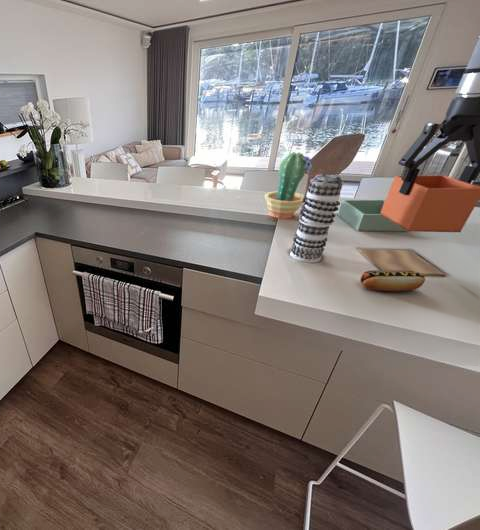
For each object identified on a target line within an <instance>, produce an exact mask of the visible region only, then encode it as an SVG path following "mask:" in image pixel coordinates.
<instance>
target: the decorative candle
mask: <svg viewBox="0 0 480 530" xmlns="http://www.w3.org/2000/svg"><path fill="white" fill-rule="evenodd" d="M309 182H310V183H309V187H308V190H307V192H306V194H303V195H304V198H303V200H302V202H304V203H303V204H302V205H301V206H300V211H299V214H301V215H299V218H298V221H299V225H298V228H297V231H296V232H295V234H294V237H293V242H292V244H291V248H290V253H289V255H290V257H291V258H293V259H294V260H296V261H298V262H299V261H300V262H304V263H312V264H313V263H318V262H320V261H321V260H322V257H323V254H324V252H325V247H326V245H327V242H328V233H329V229H330V227H331V226H332V225H333V223H334V222H335V219H334V218H335V217H336V214H335V213H334V212H338V211H339V207H338V206H341V201H339V200H340V197H341V191H342V189H343V185H345V184H346V183H345V181H343V180H342V177H341V176H339V175H337V174H331V173H322V174H317V175H316V176H314V177H313V178H312V179H310V180H309ZM305 199H306V200H305Z"/></svg>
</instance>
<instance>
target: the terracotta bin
mask: <svg viewBox="0 0 480 530" xmlns="http://www.w3.org/2000/svg"><path fill="white" fill-rule="evenodd" d="M402 176H403V175H395V176H394V178H393V181H392V182H391V185H390V188H389V189H388V193H387V196H386V198H385V199H384V200H385V202H384V205H383V207H382V210H381V212H380V214H381V215H383V216H384V217H386V218H387V219H389V220H391V221H392V222H394V223H395V224H397V225H399V226H400V227H402V228H403V229H405V231H407V232H416V233H417V232H419V233H420V232H421V233H422V232H423V233H461V231H462V230H463V228H464V226H465V224H466V223H467V221H468V219H469V218H470V217H471V214H472V213H473V211H474V209H475V208H476V206H477V204H478V202H479V200H480V186H479V185H475V184H472V183H470V184H469V183H466V182H463V181H460V180H459V179H456V178H453V177H450V176H447V175H444V174H434V175H433V174H432V175H431V174H430V175H427V174H426V175H425V174H424V175H418V176H417V178H416V180H415V182H414V184H413V186H412V189H411V191H410V193H409V195H404V194H402V193H399V191H400V188H401V186H402V184H403V181H402Z"/></svg>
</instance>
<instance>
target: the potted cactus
mask: <svg viewBox="0 0 480 530" xmlns="http://www.w3.org/2000/svg"><path fill="white" fill-rule="evenodd" d="M312 168H313V164H312V161H311V158H310V157H309V156H306V155H304V153H302V152H300V151H299V152H296V151H293V152H289V153H288V154H287V155H286V156H285V157H284V158H283V159H282V160H281V161H280V163H279V168H278V186H277V190H276V191H268V192H266V193H264V201H265V202H266V206H267V208H268V210H269V212H268V213H269V214H268V215H269V216H270V217H272V218H275V219H283V220H285V219H291V218H293V217H294V214H295V213H296V212H297V211H298V210H299V209H300V208H301V207H302V204H304V202H302V200H303V198H304V196H305V195H304V194H301V193H299V192H296V191H297V189H298V186H299V184H300V182H301V180H303V178H304V177H305V173H306V174H307V175H308V174H309V173H310V172H311V171H312ZM306 170H307V172H306ZM305 200H306V199H305Z"/></svg>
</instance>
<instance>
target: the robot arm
mask: <svg viewBox="0 0 480 530" xmlns="http://www.w3.org/2000/svg"><path fill="white" fill-rule="evenodd" d="M455 95H457V96H456V97H454V98H452V99H451V101H450V103H449V105H448V108H447V110H446V112H445V118H444V119H443V120H442V122H437V123H436V122H435V123H434V122H427V123H426V124H424V127H423V129H422V131H421V133H420V135H418V137H417V138H416V140H415V141H414V142H413V143H412V145H410V147H409V148H408V150H407V151H406V152H405V153H404V155H403V156H402V157H401V158H400V159H399V161H398V165H400V166H403V167H405V169H404V172H403V174H402V175H401V176H402V181H403V184H402V186H401V188H400V191H399V193H402V194H404V195H409V193H410V191H411V189H412V186H413V184H414V182H415V180H416V178H417V176H419V173H420V172H421V169H420V168H419V166H421V165H422V164H423V163H424V162H426V161H427V160H428V159H430V157H431V156H433V155H434V154H435V153H436V152H438V151H439V150H441V148H442V147H443V146H446V145H447V144H449V143H453V142H454V143H455V142H459V141H461V142H464V143H465V147H466V150H467V151H466V152H467V154H468V158H469V163H470V165H465V167H464V169H463V170H462V173H461V174H460V176H459V178H458V180H460V181H463V182H466V183H469V184H472V182H474V181H475V180H477V178H478V176H479V175H480V35H479V36H478V41H477V43H476V45H475V47H474V50H473V52H472V54H471V56H470V59H469V61H468V64H467V65H466V68H465V70H464V72H463V75H462V77H461V79H460V81H459V84H458V86H457V88H456V90H455ZM439 131H440V132H439ZM437 133H438V134H437ZM435 134H437V135H436V136H435ZM430 141H431V142H430ZM429 142H430V143H429Z"/></svg>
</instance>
